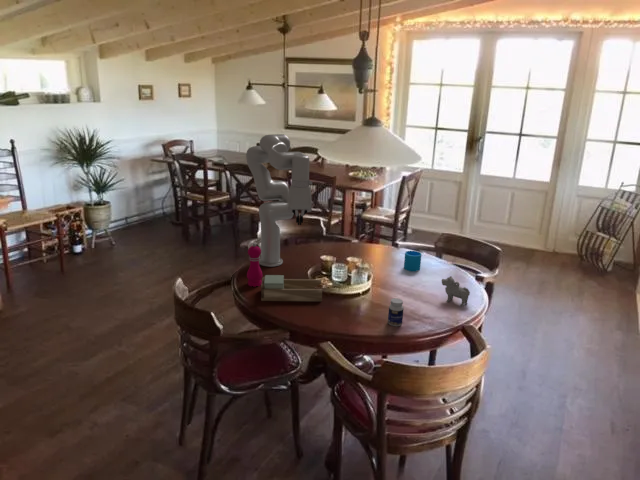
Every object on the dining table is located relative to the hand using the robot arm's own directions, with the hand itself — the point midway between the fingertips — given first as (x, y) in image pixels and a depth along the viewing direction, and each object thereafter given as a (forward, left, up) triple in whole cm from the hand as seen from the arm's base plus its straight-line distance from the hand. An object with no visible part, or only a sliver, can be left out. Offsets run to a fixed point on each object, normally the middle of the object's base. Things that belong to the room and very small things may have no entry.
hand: (299, 224), depth 234 cm
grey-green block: (+12, -11, -28) cm, 32 cm away
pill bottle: (+38, +38, -29) cm, 61 cm away
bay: (+12, -3, -29) cm, 32 cm away
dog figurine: (+17, +68, -29) cm, 76 cm away
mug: (-24, +58, -29) cm, 69 cm away
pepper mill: (0, -20, -29) cm, 35 cm away
